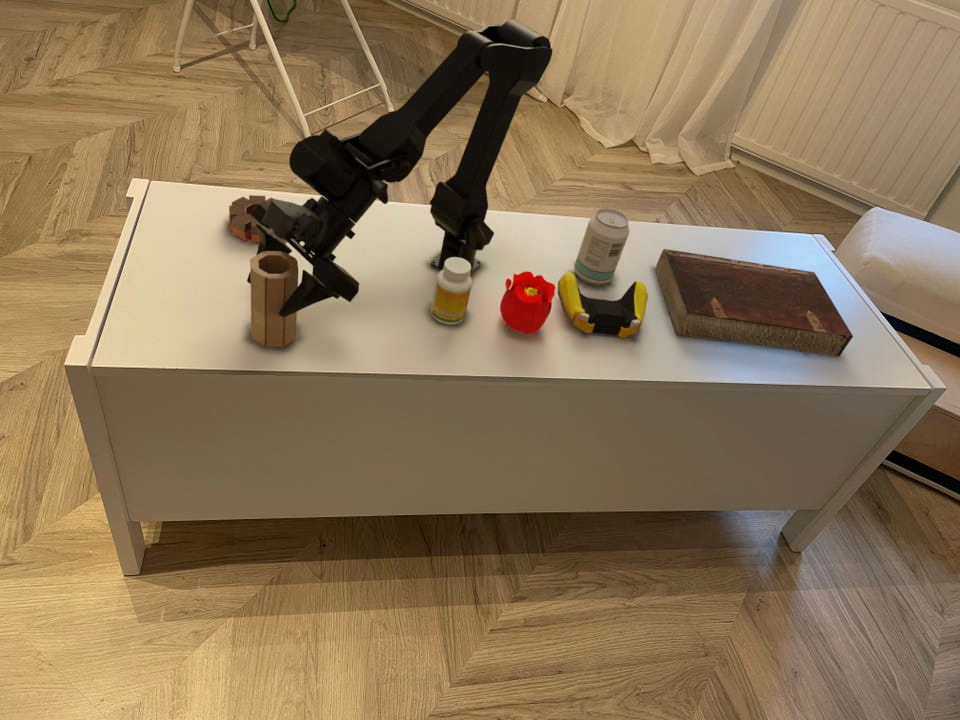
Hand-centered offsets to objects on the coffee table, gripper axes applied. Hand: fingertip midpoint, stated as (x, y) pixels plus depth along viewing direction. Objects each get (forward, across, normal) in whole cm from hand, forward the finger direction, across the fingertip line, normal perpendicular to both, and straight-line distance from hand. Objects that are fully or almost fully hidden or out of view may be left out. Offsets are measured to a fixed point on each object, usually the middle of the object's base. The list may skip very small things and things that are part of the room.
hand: (264, 299), depth 104 cm
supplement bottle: (-14, +9, +23) cm, 29 cm away
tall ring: (+4, 0, +6) cm, 7 cm away
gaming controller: (-29, +22, +39) cm, 53 cm away
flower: (-20, +17, +29) cm, 39 cm away
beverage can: (-35, +14, +44) cm, 58 cm away
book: (-47, +35, +57) cm, 81 cm away
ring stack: (-4, -24, +14) cm, 28 cm away
